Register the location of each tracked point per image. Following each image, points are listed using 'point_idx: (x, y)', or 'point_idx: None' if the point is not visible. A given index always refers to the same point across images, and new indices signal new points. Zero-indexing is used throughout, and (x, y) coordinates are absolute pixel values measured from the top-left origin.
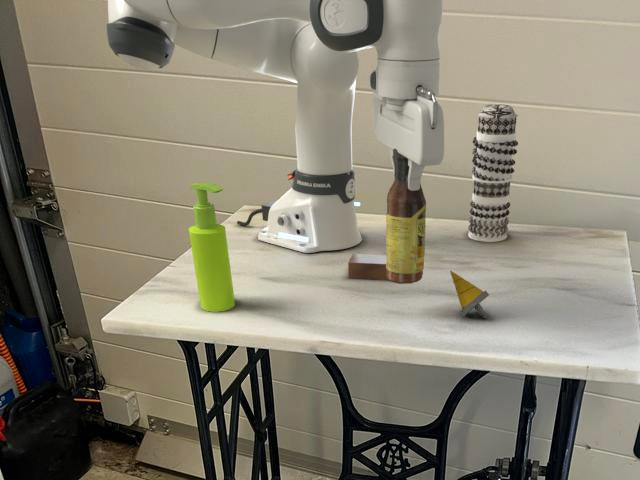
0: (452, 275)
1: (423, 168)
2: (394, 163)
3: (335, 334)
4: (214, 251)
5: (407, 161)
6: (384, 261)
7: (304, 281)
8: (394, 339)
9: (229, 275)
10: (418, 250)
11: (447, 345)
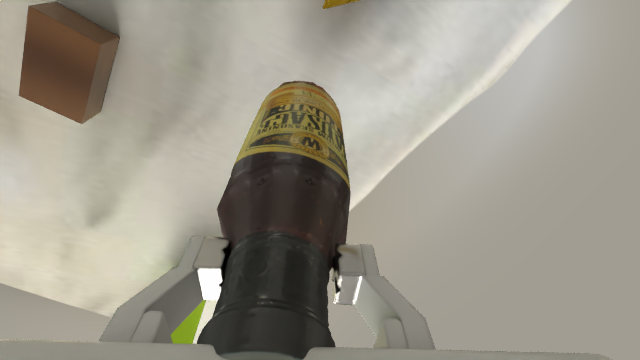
0: (333, 6)
1: (416, 312)
2: (185, 314)
3: None
4: None
5: None
6: (77, 48)
7: (110, 180)
8: (384, 145)
9: None
10: (342, 134)
11: (450, 83)
